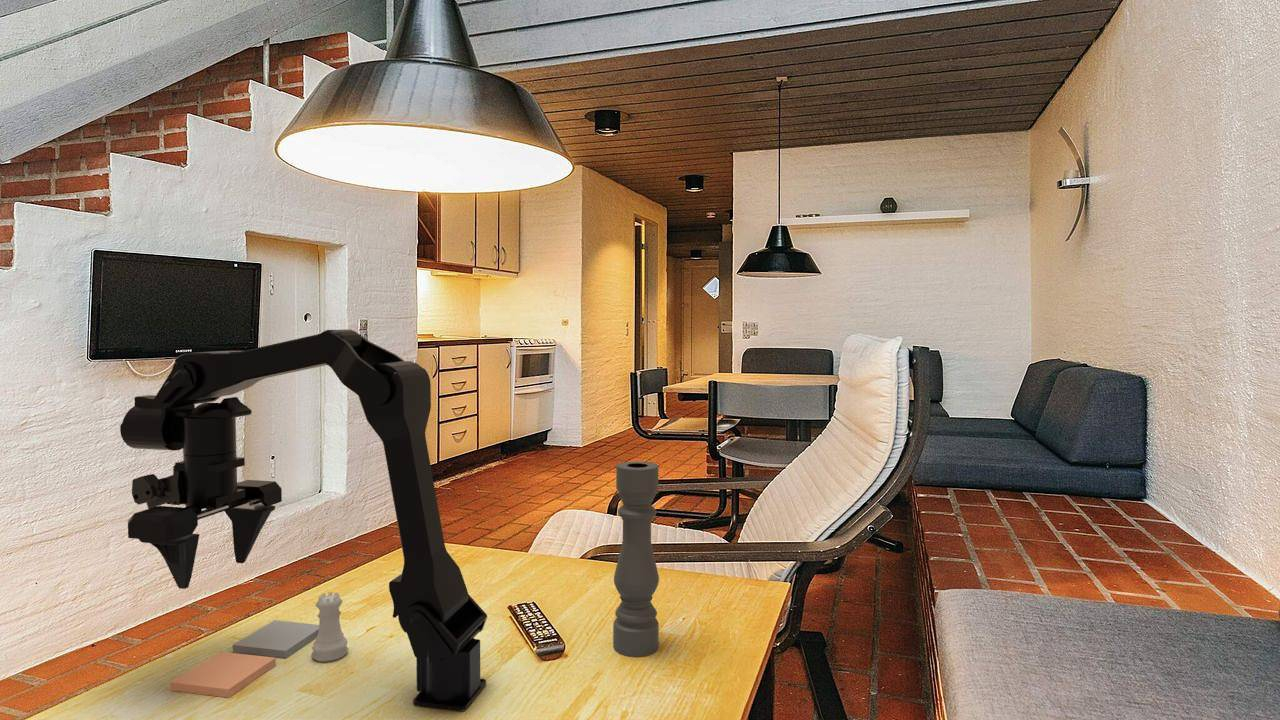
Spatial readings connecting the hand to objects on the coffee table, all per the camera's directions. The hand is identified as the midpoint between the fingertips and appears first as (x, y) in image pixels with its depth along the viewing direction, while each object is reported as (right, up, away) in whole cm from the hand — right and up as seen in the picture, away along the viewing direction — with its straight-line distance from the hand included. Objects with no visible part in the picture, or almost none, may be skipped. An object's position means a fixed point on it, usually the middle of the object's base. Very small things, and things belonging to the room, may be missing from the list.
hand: (213, 574), depth 90 cm
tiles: (+3, -12, +3) cm, 13 cm away
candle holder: (+53, -12, +8) cm, 55 cm away
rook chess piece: (+13, -12, +4) cm, 18 cm away
